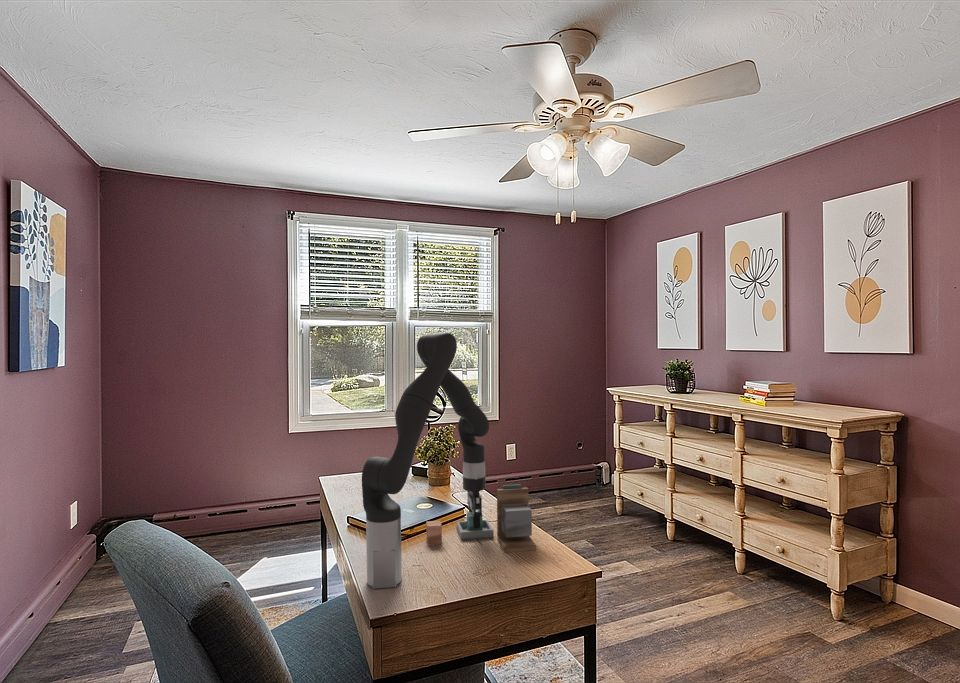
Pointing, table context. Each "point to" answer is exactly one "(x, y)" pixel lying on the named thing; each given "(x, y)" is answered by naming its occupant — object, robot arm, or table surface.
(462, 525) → the tray
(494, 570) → the table surface
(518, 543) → the mounted unit
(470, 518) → the teal block
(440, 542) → the terracotta block
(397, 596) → the table surface
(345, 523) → the table surface
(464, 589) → the table surface
